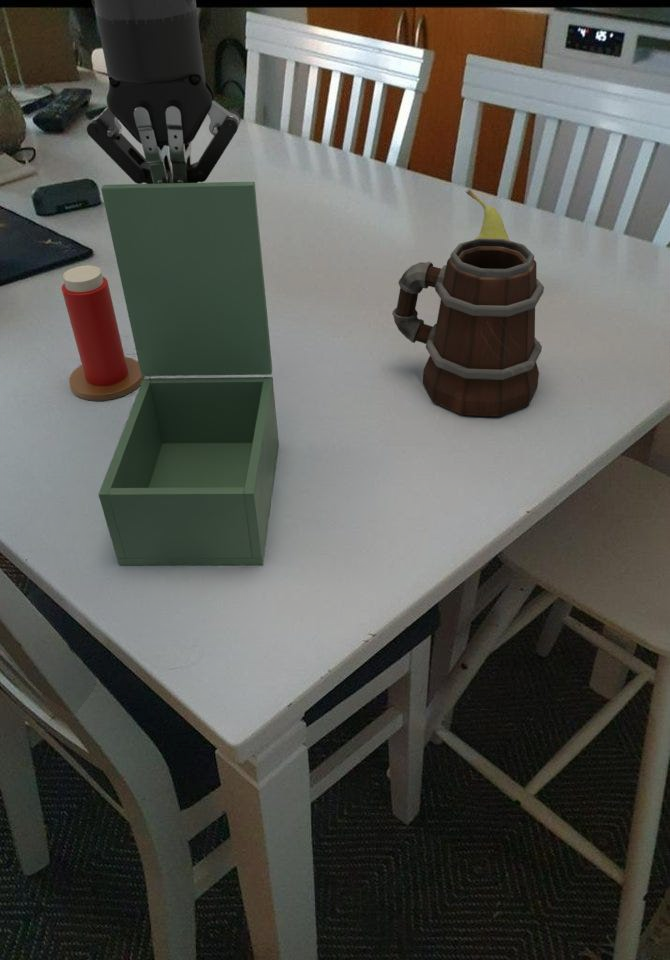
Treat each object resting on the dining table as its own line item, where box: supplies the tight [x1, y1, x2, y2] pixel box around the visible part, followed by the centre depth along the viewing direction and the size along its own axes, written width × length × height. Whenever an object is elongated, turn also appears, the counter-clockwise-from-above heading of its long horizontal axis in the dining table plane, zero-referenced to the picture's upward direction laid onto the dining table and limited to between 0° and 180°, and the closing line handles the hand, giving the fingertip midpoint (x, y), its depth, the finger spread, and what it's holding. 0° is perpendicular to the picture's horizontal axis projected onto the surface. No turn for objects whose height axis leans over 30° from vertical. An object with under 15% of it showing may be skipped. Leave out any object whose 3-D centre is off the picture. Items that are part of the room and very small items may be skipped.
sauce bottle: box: [61, 265, 128, 386], centre depth 85 cm, size 5×5×12 cm
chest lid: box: [100, 181, 273, 377], centre depth 71 cm, size 17×12×5 cm
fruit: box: [465, 188, 511, 241], centre depth 101 cm, size 7×8×12 cm
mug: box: [392, 238, 545, 417], centre depth 82 cm, size 16×12×15 cm
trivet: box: [68, 356, 145, 402], centre depth 89 cm, size 8×8×1 cm
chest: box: [97, 376, 280, 566], centre depth 71 cm, size 17×12×8 cm
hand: (180, 228), depth 72 cm, fingers closed
